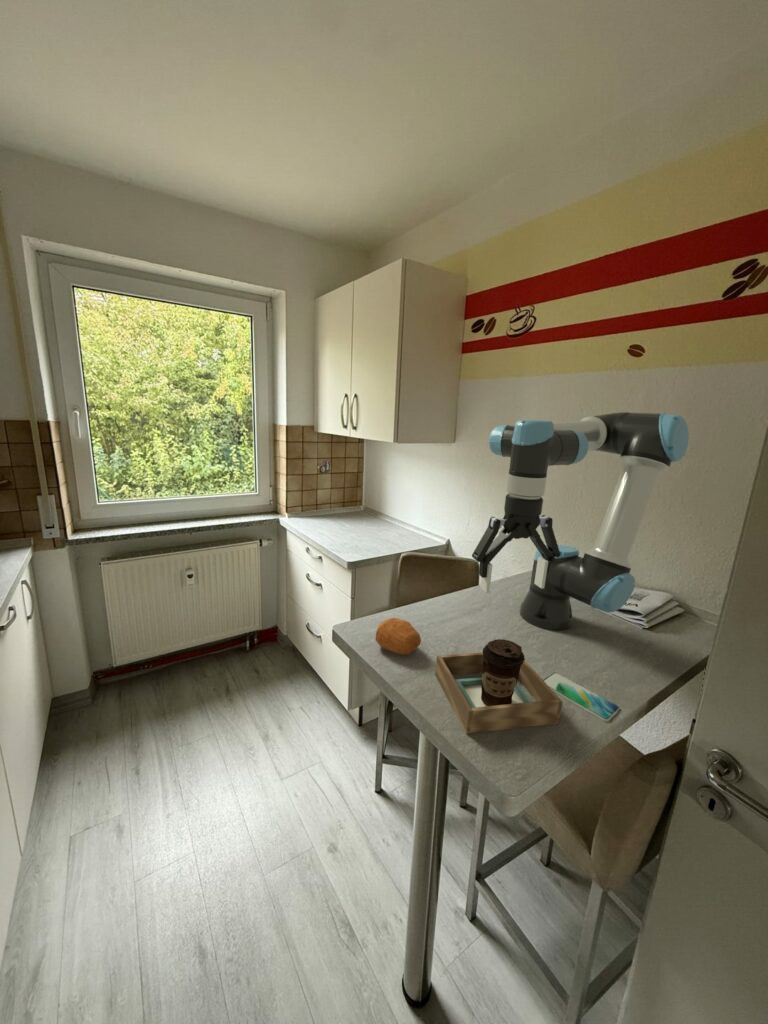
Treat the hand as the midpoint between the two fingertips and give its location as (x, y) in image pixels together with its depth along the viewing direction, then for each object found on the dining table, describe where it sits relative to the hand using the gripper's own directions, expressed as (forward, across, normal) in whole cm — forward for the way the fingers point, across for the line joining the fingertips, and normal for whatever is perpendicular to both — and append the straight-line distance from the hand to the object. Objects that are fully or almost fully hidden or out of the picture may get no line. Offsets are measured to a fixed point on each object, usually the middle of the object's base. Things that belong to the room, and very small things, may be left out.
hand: (512, 588), depth 91 cm
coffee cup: (+22, +6, +9) cm, 24 cm away
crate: (+22, +6, +7) cm, 24 cm away
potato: (+22, +22, -13) cm, 34 cm away
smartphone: (+23, -14, +10) cm, 29 cm away
